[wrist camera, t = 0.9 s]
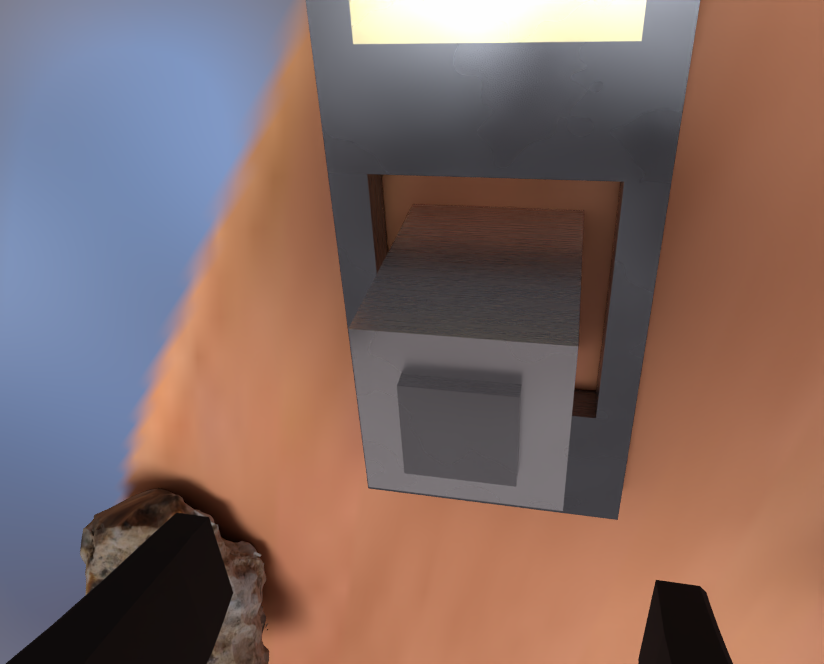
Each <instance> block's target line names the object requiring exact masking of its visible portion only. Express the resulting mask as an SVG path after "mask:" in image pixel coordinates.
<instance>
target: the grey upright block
mask: <svg viewBox="0 0 824 664" xmlns="http://www.w3.org/2000/svg"><path fill="white" fill-rule="evenodd" d="M583 223H584V210H558V209H532V208H506V207H480V206H453V205H427V204H413V205H412V207H411V209H410V211H409V213H408V215H407V217H406V219H405V221H404V223H403V225H402V227H401V229H400V231H399V232H398V234H397V236H396V238H395V240H394V242H393V244H392V246H391V248H390V250H389V252H388V254H387V256H386V258H385V259H384V261H383V263H382V265H381V267H380V269H379V271H378V273H377V275H376V277H375V279H374V281H373V283H372V284H371V286H370V288H369V290H368V292H367V294H366V296H365V298H364V300H363V302H362V304H361V306H360V308H359V310H358V311H357V313H356V315H355V317H354V319H353V321H352V323H351V325H350V327H349V336H350V344H351V352H352V360H353V368H354V376H355V383H356V391H357V399H358V407H359V415H360V423H361V430H362V438H363V446H364V454H365V462H366V469H367V477H368V485H369V487H374V488H382V489H390V490H398V491H406V492H414V493H422V494H430V495H438V496H446V497H454V498H462V499H470V500H478V501H486V502H494V503H502V504H510V505H517V506H525V507H533V508H541V509H549V510H557V511H563V505H564V494H565V483H566V473H567V462H568V451H569V441H570V430H571V419H572V409H573V398H574V387H575V377H576V366H577V355H578V342H579V318H580V295H581V271H582V247H583Z"/></svg>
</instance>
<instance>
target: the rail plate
mask: <svg viewBox="0 0 824 664" xmlns="http://www.w3.org/2000/svg"><path fill="white" fill-rule="evenodd" d="M699 5H700V0H306V6H307V14H308V22H309V30H310V38H311V45H312V53H313V61H314V69H315V76H316V84H317V92H318V100H319V108H320V115H321V123H322V131H323V139H324V146H325V154H326V162H327V170H328V178H329V185H330V193H331V201H332V209H333V216H334V224H335V232H336V240H337V248H338V255H339V263H340V271H341V279H342V286H343V294H344V302H345V310H346V318H347V325H348V333H349V327H350V325H351V323H352V321H353V319H354V317H355V315H356V313H357V311H358V310H359V308H360V306H361V304H362V302H363V300H364V298H365V296H366V294H367V292H368V290H369V288H370V286H371V284H372V283H373V281H374V279H375V277H376V275H377V273H378V271H379V269H380V267H381V265H382V263H383V261H384V259H385V258H386V256H387V254H388V250H387V238H386V226H385V215H384V203H383V191H382V179H381V174H382V175H416V176H450V177H484V178H518V179H552V180H586V181H620V182H621V183H620V191H619V200H618V209H617V217H616V226H615V234H614V243H613V252H612V260H611V269H610V277H609V286H608V294H607V303H606V312H605V320H604V329H603V337H602V346H601V355H600V363H599V372H598V380H597V389H596V391H585V390H574V398H573V409H572V419H571V430H570V441H569V451H568V462H567V473H566V483H565V494H564V505H563V511H557V510H549V509H541V508H533V507H525V506H517V505H510V504H502V503H494V502H486V501H478V500H470V499H462V498H454V497H446V496H438V495H430V494H422V493H414V492H406V491H398V490H390V489H382V488H374V487H369V485H368V488H370V489H378V490H386V491H394V492H402V493H410V494H418V495H426V496H433V497H441V498H449V499H457V500H465V501H473V502H481V503H489V504H497V505H505V506H513V507H521V508H528V509H536V510H544V511H552V512H560V513H568V514H576V515H584V516H592V517H600V518H608V519H615V520H618V514H619V508H620V502H621V495H622V489H623V483H624V476H625V470H626V464H627V458H628V451H629V445H630V439H631V432H632V426H633V420H634V414H635V407H636V401H637V395H638V388H639V382H640V376H641V370H642V363H643V357H644V351H645V344H646V338H647V332H648V326H649V319H650V313H651V307H652V301H653V294H654V288H655V282H656V275H657V269H658V263H659V257H660V250H661V244H662V238H663V231H664V225H665V219H666V213H667V206H668V200H669V194H670V187H671V181H672V175H673V169H674V162H675V156H676V150H677V143H678V137H679V131H680V125H681V118H682V112H683V106H684V99H685V93H686V87H687V81H688V74H689V68H690V62H691V56H692V49H693V43H694V37H695V30H696V24H697V18H698V12H699ZM349 341H350V336H349ZM350 349H351V344H350ZM351 356H352V352H351ZM352 364H353V360H352ZM353 372H354V368H353ZM354 380H355V376H354ZM355 388H356V383H355ZM356 395H357V391H356ZM357 403H358V399H357ZM358 411H359V407H358ZM359 419H360V415H359ZM360 426H361V423H360ZM361 434H362V430H361ZM362 442H363V438H362ZM363 450H364V446H363ZM364 458H365V454H364ZM365 465H366V462H365ZM366 473H367V469H366ZM367 481H368V477H367Z"/></svg>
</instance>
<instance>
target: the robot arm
mask: <svg viewBox="0 0 824 664" xmlns="http://www.w3.org/2000/svg"><path fill="white" fill-rule="evenodd" d="M232 595H233V590H232V587H231V584H230V580H229V577H228V574H227V571H226V568H225V565H224V562H223V559H222V555H221V552H220V549H219V546H218V543H217V540H216V537H215V534H214V530H213V527H212V524H211V521H210V518H209V517H205V516H198V515H191V514H184V513H176V514H174V515H173V516H172V517H171V518H170V519H169V520H168V521H167V522H165V523H164V524H163V525H162V526H161V527H160V528H159V529H158V530H157V531H155V532H154V533H153V534H152V535H151V536H150V537H149V538H148V539H147V540H146V541H145V542H144V543H142V544H141V545H140V546H139V547H138V548H137V549H136V550H135V551H134V552H133V553H132V554H131V555H130V556H128V557H127V558H126V559H125V560H124V561H123V562H122V563H121V564H120V565H119V566H118V567H116V568H115V569H114V570H113V571H112V572H111V573H110V574H109V575H108V576H107V577H106V578H104V579H103V580H102V581H101V582H100V583H99V584H98V585H97V586H96V587H95V588H93V589H92V590H91V591H90V592H89V593H88V594H87V595H86V596H84V597H83V598H82V599H81V600H80V601H79V602H78V603H77V604H75V605H74V606H73V607H72V608H71V609H70V610H69V611H68V612H66V613H65V614H64V615H63V616H62V617H61V618H60V619H58V620H57V621H56V622H55V623H54V624H53V625H52V626H50V627H49V628H48V629H47V630H46V631H44V632H43V633H42V634H41V635H40V636H38V637H37V638H36V639H35V640H34V641H32V642H31V643H30V644H29V645H27V646H26V647H25V648H24V649H23V650H22V651H20V652H19V653H18V654H17V655H15V656H14V657H13V658H12V659H11V660H10V661H8V662H7V663H6V664H207V662H208V660H209V658H210V656H211V654H212V651H213V649H214V646H215V643H216V641H217V638H218V635H219V633H220V630H221V627H222V624H223V622H224V619H225V616H226V613H227V610H228V607H229V604H230V601H231V598H232ZM639 664H733V663H732V660H731V658H730V655H729V653H728V651H727V648H726V646H725V643H724V641H723V638H722V635H721V633H720V630H719V628H718V625H717V622H716V620H715V617H714V614H713V611H712V608H711V606H710V603H709V599H708V596H707V593H706V592H705V591H704V590H703V589H702V588H701V587H700V586H695V585H688V584H681V583H674V582H667V581H660V580H656V582H655V586H654V591H653V595H652V600H651V605H650V609H649V614H648V618H647V623H646V627H645V632H644V636H643V641H642V645H641V650H640V655H639Z"/></svg>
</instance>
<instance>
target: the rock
mask: <svg viewBox="0 0 824 664" xmlns="http://www.w3.org/2000/svg"><path fill="white" fill-rule="evenodd" d="M176 513H184V514H191V515H198V516H205V517H209V518H210V521H211V524H212V527H213V530H214V534H215V537H216V540H217V543H218V546H219V549H220V552H221V555H222V559H223V562H224V565H225V568H226V571H227V574H228V577H229V580H230V584H231V587H232V590H233V595H232V598H231V601H230V604H229V607H228V610H227V613H226V616H225V619H224V622H223V624H222V627H221V630H220V633H219V635H218V638H217V641H216V643H215V646H214V649H213V651H212V654H211V656H210V658H209V660H208V662H207V664H268V661H269V650H268V649H267V648H266V647H265V646H264V645H263V642H262V632H263V629H264V625H265V622H266V616H265V613H264V611H263V607H262V606H261V603H262V597H263V596H262V589H263V585H264V583H265V582H266V575H265V572H264V563H263V562H262V560H261V559H260V558H258V557H257V556H259V557H260V556H261V554H259V553H257V552H256V550H255V548H254V547H253V546H252V545H251V544H250V543H248V542H244V541H241V542H239V543H233V542H231V541H228V540H225V539H223V538H222V537H221V535H220V531H219V529H218V525H217V524H215V523H214V519H213V518H212V517H211V516H210V515H208V514H206V513H203V512H201V511H200V510H194V509H193V508H191V507H190V506H189V505H187V504H186V503H184V501H183V498H182V497H181V496H179V495H175V494H173V493H171V492H170V491H166V490H163V489H160V488H158V489H152V490H148V491H145V492H142V493H139V494H137V495H135V496H132V497H130V498H128V499H126V500H124V501H123V502H121V503H119V504H117V505H115V506H113V507H111V508H109V509H107V510H105V511H102V512H100V513H98V514H96V515H94V519H93V520H92V522H91V523H90V524H88V525H87V526H86V527H85V528H84V529H83V534H82V541H81V550H80V555H81V557H82V559H83V561H84V562H85V564H86V572H85V573H86V574H85V575H86V595H87V594H88V593H89V592H90V591H91V590H92V589H93V588H95V587H96V586H97V585H98V584H99V583H100V582H101V581H102V580H103V579H104V578H106V577H107V576H108V575H109V574H110V573H111V572H112V571H113V570H114V569H115V568H116V567H118V566H119V565H120V564H121V563H122V562H123V561H124V560H125V559H126V558H127V557H128V556H130V555H131V554H132V553H133V552H134V551H135V550H136V549H137V548H138V547H139V546H140V545H141V544H142V543H144V542H145V541H146V540H147V539H148V538H149V537H150V536H151V535H152V534H153V533H154V532H155V531H157V530H158V529H159V528H160V527H161V526H162V525H163V524H164V523H165V522H167V521H168V520H169V519H170V518H171V517H172V516H173V515H174V514H176ZM267 624H268V623H267ZM266 626H267V625H266ZM267 630H268V629H267Z"/></svg>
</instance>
